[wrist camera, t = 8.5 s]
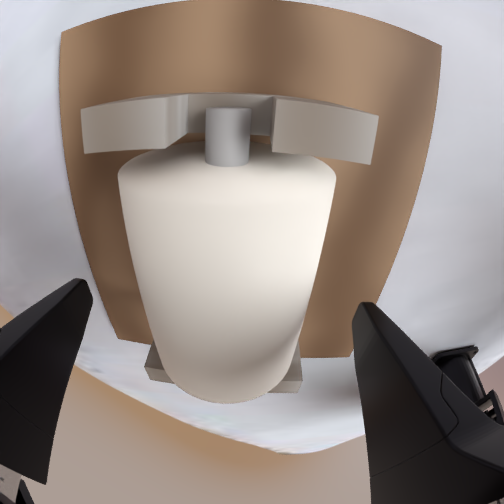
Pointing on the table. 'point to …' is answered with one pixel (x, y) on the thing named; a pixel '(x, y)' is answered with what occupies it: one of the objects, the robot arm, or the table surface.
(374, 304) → the robot arm
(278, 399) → the table surface
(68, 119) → the roll cradle
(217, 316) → the paper roll
